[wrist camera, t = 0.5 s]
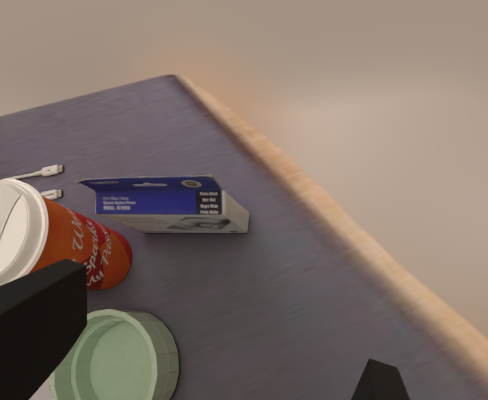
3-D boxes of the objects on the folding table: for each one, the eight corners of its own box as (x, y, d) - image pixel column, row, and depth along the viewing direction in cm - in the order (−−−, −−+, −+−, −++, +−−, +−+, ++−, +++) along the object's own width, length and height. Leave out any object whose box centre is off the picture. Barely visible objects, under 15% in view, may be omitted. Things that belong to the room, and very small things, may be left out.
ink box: (141, 235, 42) (68, 206, 31) (144, 212, 43) (73, 177, 32) (251, 236, 39) (210, 204, 28) (252, 212, 40) (213, 172, 29)
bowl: (185, 421, 36) (160, 436, 31) (85, 428, 38) (47, 443, 34) (178, 304, 39) (153, 302, 34) (85, 317, 41) (51, 317, 37)
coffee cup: (140, 299, 40) (25, 288, 26) (67, 302, 42) (-76, 293, 28) (144, 216, 43) (40, 166, 29) (75, 222, 45) (-53, 178, 31)
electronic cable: (61, 163, 47) (64, 164, 47) (-11, 178, 49) (-8, 179, 49) (60, 197, 46) (62, 198, 46) (-14, 211, 48) (-11, 212, 48)
